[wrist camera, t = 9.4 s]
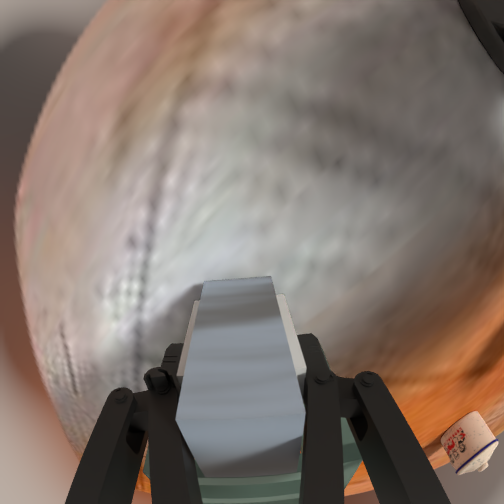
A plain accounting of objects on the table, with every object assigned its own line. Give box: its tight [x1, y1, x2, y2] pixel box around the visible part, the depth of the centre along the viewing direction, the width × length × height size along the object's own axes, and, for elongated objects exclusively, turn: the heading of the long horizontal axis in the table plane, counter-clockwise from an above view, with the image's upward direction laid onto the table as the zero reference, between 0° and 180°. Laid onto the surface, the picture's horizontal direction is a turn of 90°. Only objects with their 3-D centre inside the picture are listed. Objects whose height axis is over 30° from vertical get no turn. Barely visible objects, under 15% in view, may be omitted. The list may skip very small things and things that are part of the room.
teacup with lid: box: [441, 411, 498, 475], centre depth 25 cm, size 12×9×12 cm
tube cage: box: [143, 345, 363, 504], centre depth 17 cm, size 13×11×10 cm
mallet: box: [175, 276, 306, 477], centre depth 16 cm, size 23×4×10 cm, turn 4°
